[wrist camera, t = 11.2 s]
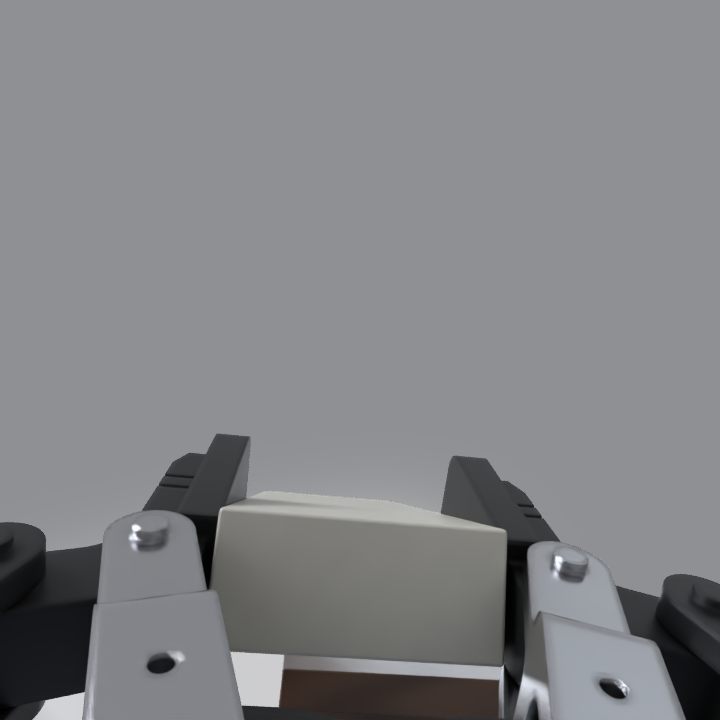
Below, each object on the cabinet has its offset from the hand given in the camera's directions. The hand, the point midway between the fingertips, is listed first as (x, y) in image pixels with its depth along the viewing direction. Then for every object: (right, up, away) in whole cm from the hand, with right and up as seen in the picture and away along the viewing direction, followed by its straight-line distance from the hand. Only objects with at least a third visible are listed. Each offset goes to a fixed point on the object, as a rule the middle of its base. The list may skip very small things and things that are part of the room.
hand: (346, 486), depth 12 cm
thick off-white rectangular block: (0, -3, +1) cm, 3 cm away
